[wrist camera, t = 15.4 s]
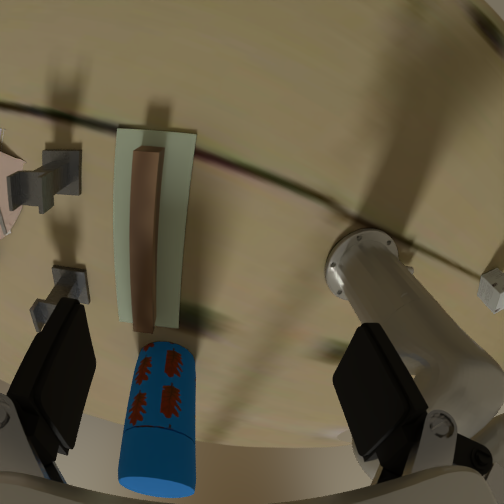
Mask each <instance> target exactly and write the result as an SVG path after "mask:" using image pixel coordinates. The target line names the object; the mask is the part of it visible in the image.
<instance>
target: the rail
mask: <svg viewBox="0 0 504 504" xmlns="http://www.w3.org/2000/svg"><path fill="white" fill-rule="evenodd" d="M164 153H165V147H156V146H143V145H141V146H140V147H138V148H137V149H135V150H133V158H132V172H131V190H130V224H129V253H130V286H131V305H132V319H133V331H135V332H143V333H151V334H153V331H154V326H155V321H156V280H157V245H158V224H159V208H160V195H161V183H162V172H163V162H164Z"/></svg>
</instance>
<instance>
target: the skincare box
mask: <svg viewBox="0 0 504 504" xmlns="http://www.w3.org/2000/svg"><path fill="white" fill-rule="evenodd" d="M477 296H478V297H479V298H480V299H481V300H482V301H483V303H484V304H485V305H486V306H487V307H488V308H489V309H490V310H491V311H492V312H493V314H495V313H497V312H499V311H501V310H503V309H504V273H503V272H502V271H501V270H500V269H499V268H495V269H494V270H492V271H490V272H487V273H485V274H483V275H482V276H481V279H480V284H479V289H478V293H477Z"/></svg>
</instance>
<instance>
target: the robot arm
mask: <svg viewBox="0 0 504 504" xmlns="http://www.w3.org/2000/svg"><path fill="white" fill-rule="evenodd" d="M413 272H414V269H413V267H410V266H404V264H403V263H402V262H401V261H400V260H399V259H398V250H397V246H396V244H395V242H394V241H393V239H392V238H391V237H390V236H389V235H387V234H386V233H385V232H383V231H381V230H379V229H373V228H367V229H361V230H357V231H355V232H353V233H350V234H349V235H347V236H346V237H344V238H343V239H342V240H341V241H339V242H338V243H337V245H336V246H335V247H334V248H333V249H332V251H331V253H330V255H329V256H328V259H327V262H326V266H325V279H326V283H327V284H328V286H329V288H330V290H331V291H332V293H333V294H335V295H336V296H337V297H339V298H341V299H344V300H348V301H349V302H350V304H351V306H352V308H353V309H354V311H355V313H356V315H357V316H358V318H359V320H360V321H361V323H362V325H361V326H360V327H358V328H357V330H356V332H355V334H354V336H353V338H352V340H351V342H350V344H349V346H348V348H347V350H346V352H345V354H344V356H343V358H342V360H341V361H340V363H339V365H338V367H337V369H336V371H335V373H334V375H333V385H334V387H335V390H336V393H337V396H338V398H339V401H340V404H341V406H342V409H343V412H344V415H345V418H346V420H347V423H348V426H349V429H350V432H351V434H352V437H353V438H352V447H353V452H354V454H355V457H356V459H357V461H358V463H359V464H360V466H361V467H362V469H363V470H364V472H365V473H366V474H367V475H368V476H369V477H370V478H371V479H372V480H373V481H372V483H371V485H370V486H368V487H364V488H360V489H356V490H352V491H347V492H343V493H338V494H333V495H328V496H323V497H317V498H311V499H305V500H298V501H290V502H281V503H272V504H504V413H503V414H500V415H498V416H496V417H494V416H495V415H496V414H497V413H498V411H499V409H500V408H501V406H502V405H503V403H504V372H503V370H502V368H501V367H500V365H499V364H498V363H497V362H496V361H495V360H494V359H493V357H491V356H490V355H489V354H488V353H487V352H486V351H485V350H484V349H483V348H481V347H480V346H479V345H478V344H477V343H476V342H475V341H474V340H472V339H471V338H470V337H469V336H468V335H467V334H466V333H465V332H464V331H463V330H462V329H461V328H460V327H459V326H458V325H457V324H456V322H455V321H454V320H453V319H452V318H451V317H450V316H449V315H448V314H447V313H446V311H445V310H444V309H443V308H442V307H441V306H440V304H439V303H438V302H437V301H436V300H435V299H434V298H433V296H432V295H431V294H430V293H429V292H428V291H427V290H426V289H425V288H424V286H423V285H422V284H421V283H420V282H419V281H418V280H417V279H416V278H415V277H414V275H413ZM95 369H96V358H95V354H94V350H93V346H92V342H91V337H90V333H89V328H88V323H87V318H86V313H85V308H84V305H82V304H80V302H79V300H78V299H73V298H67V297H62V298H61V299H60V300H59V302H58V304H57V305H56V307H55V309H54V310H53V312H52V314H51V315H50V317H49V319H48V321H47V322H46V324H45V326H44V328H43V330H42V331H41V332H39V333H37V335H36V336H35V338H34V340H33V341H32V343H31V345H30V347H29V349H28V351H27V353H26V355H25V357H24V359H23V361H22V363H21V365H20V367H19V369H18V371H17V373H16V375H15V377H14V379H13V381H12V384H11V386H10V388H9V390H8V392H7V395H4V394H2V393H0V504H173V503H162V502H153V501H146V500H139V499H133V498H127V497H121V496H116V495H110V494H105V493H101V492H96V491H92V490H87V489H83V488H79V487H75V486H72V485H68V484H67V483H66V481H65V480H64V478H63V476H62V474H61V472H60V471H59V469H58V467H57V465H56V463H55V460H56V457H57V453H60V454H64V455H68V451H69V449H73V448H74V446H75V442H76V437H77V433H78V429H79V425H80V421H81V417H82V414H83V410H84V406H85V403H86V399H87V396H88V392H89V389H90V385H91V382H92V379H93V375H94V372H95ZM411 375H416V376H415V378H414V379H413V378H412V376H411ZM493 417H494V418H493Z"/></svg>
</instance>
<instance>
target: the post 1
mask: <svg viewBox="0 0 504 504" xmlns="http://www.w3.org/2000/svg"><path fill="white" fill-rule="evenodd" d="M81 160H82V150H43V151H42V166H41V167H39V168H37V169H36V170H34V171H17V172H15V173H13V174H11V175H9V176H7V177H6V178H7V192H8V203H9V211H14V210H15V209H17V208H18V207H20V206H21V205H29V206H39V213H40V214H44V213H45V212H46V211H48V210H49V209H50V208H51V207H53V206H54V195H55V194H64V195H80V194H81Z"/></svg>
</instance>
